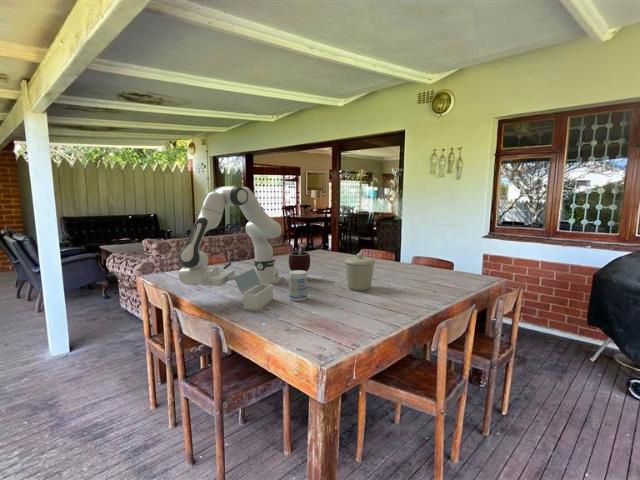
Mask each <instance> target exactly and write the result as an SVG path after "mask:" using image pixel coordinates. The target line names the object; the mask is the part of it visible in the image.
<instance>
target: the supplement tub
mask: <svg viewBox="0 0 640 480" xmlns="http://www.w3.org/2000/svg"><path fill="white" fill-rule="evenodd" d="M307 272H308V271H307ZM307 272H306V271H302V270H294V271H291V270H290V271H289V274H288V297H289V300H291V301H294V302H303V301H306V299H308V281H307V277H308V273H307Z"/></svg>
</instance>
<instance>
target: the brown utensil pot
mask: <svg viewBox="0 0 640 480" xmlns="http://www.w3.org/2000/svg"><path fill="white" fill-rule="evenodd" d="M288 266H289V270H290V271H294V270H302V271H306V272H308V271H309V269H310V267H311V256H310V252H307V251H302V246H300V247H299V249H298V251H294V252H289V254H288ZM309 280H310V277H308V276H307V282H308V281H309Z"/></svg>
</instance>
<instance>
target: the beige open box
mask: <svg viewBox="0 0 640 480" xmlns="http://www.w3.org/2000/svg"><path fill="white" fill-rule="evenodd" d="M242 299H243V311H249V312H259V310H261V309H262V308H264V307H265V306H266V305H268V304H269V303H271V302H272V301H273V300H274V284H258V285H256V286H254V287H253V288H251V289H249V290H248V291H246V292H244V293H242Z"/></svg>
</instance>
